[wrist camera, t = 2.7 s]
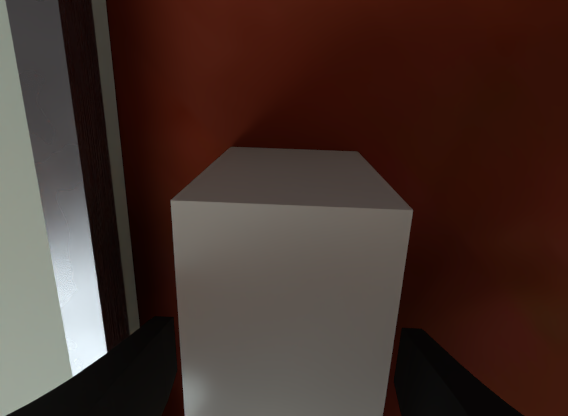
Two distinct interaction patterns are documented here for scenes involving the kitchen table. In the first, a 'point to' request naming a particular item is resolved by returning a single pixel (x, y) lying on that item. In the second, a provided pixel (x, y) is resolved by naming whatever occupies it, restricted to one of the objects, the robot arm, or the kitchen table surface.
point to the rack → (59, 198)
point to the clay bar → (288, 283)
